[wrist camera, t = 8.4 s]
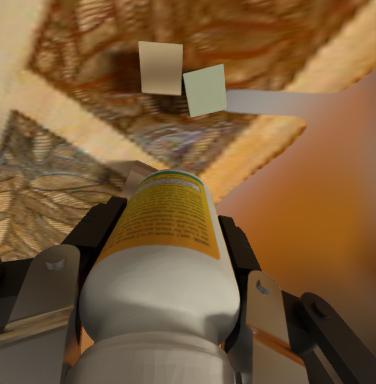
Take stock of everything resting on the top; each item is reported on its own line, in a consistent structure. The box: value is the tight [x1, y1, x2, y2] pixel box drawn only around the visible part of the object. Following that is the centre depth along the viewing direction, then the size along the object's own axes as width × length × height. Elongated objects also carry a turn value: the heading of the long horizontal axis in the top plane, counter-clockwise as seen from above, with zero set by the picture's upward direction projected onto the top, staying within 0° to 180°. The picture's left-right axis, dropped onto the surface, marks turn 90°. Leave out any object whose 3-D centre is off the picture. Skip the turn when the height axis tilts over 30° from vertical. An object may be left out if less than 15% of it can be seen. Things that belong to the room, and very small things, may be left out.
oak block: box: [139, 41, 183, 96], centre depth 22 cm, size 5×5×5 cm
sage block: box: [183, 64, 227, 117], centre depth 23 cm, size 5×5×5 cm
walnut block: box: [121, 161, 159, 198], centre depth 30 cm, size 5×5×5 cm
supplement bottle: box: [64, 169, 240, 384], centre depth 7 cm, size 5×5×10 cm
